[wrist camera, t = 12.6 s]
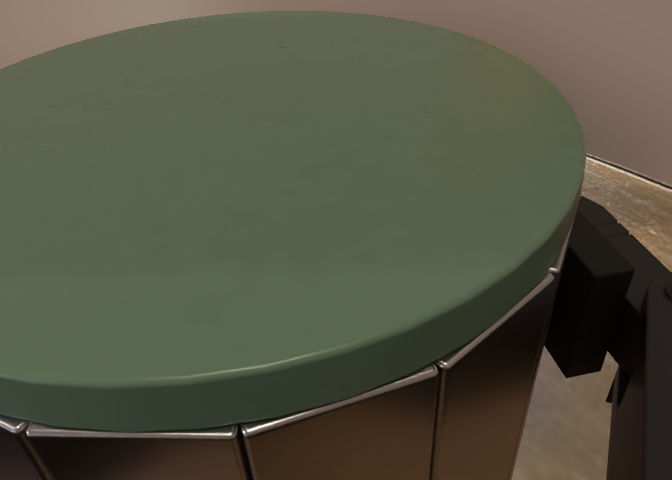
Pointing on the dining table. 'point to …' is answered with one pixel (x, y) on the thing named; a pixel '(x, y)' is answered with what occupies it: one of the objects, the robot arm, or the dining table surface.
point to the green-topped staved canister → (277, 251)
